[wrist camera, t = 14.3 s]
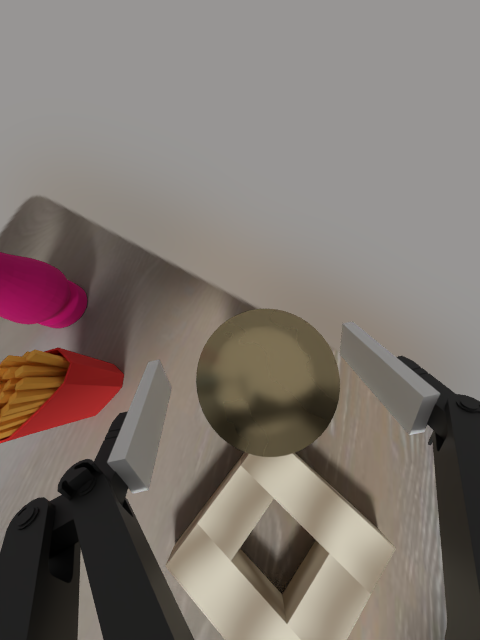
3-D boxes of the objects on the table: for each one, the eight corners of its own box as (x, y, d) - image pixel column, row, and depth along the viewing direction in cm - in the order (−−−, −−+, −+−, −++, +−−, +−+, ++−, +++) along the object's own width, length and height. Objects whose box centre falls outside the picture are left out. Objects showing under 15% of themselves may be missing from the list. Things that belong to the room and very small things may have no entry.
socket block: (174, 544, 21) (165, 566, 18) (264, 425, 23) (266, 430, 21) (291, 683, 18) (298, 729, 15) (378, 528, 21) (395, 548, 18)
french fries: (114, 353, 26) (9, 331, 15) (135, 374, 25) (43, 368, 14) (58, 410, 24) (-109, 435, 13) (79, 434, 24) (-78, 485, 12)
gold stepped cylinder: (217, 382, 25) (167, 384, 9) (250, 343, 26) (256, 284, 10) (257, 419, 24) (280, 495, 8) (290, 376, 25) (367, 367, 9)
